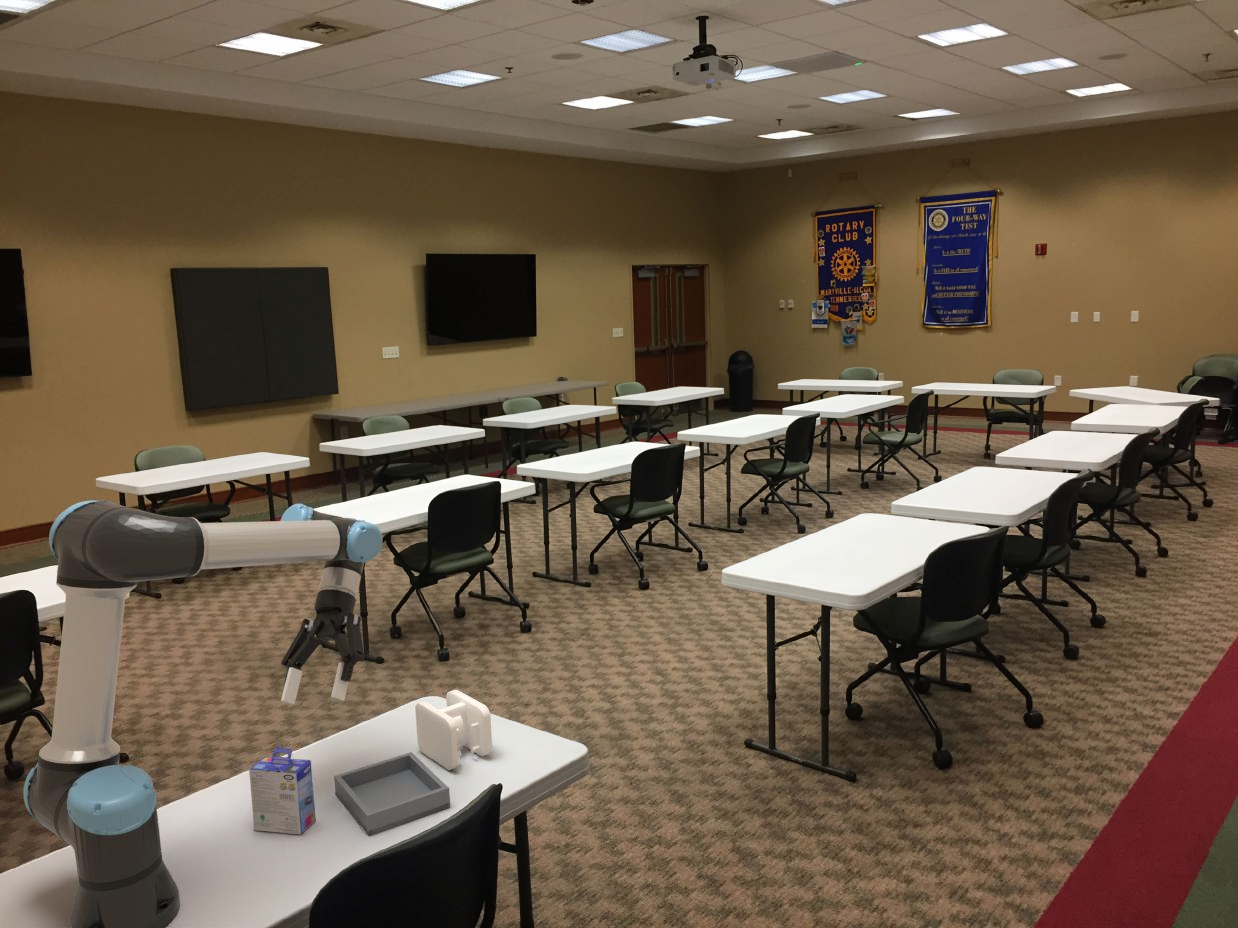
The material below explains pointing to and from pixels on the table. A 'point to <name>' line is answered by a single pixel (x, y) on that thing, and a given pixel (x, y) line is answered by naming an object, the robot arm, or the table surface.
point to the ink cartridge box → (282, 794)
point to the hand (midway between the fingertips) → (312, 700)
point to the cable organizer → (453, 729)
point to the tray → (391, 793)
